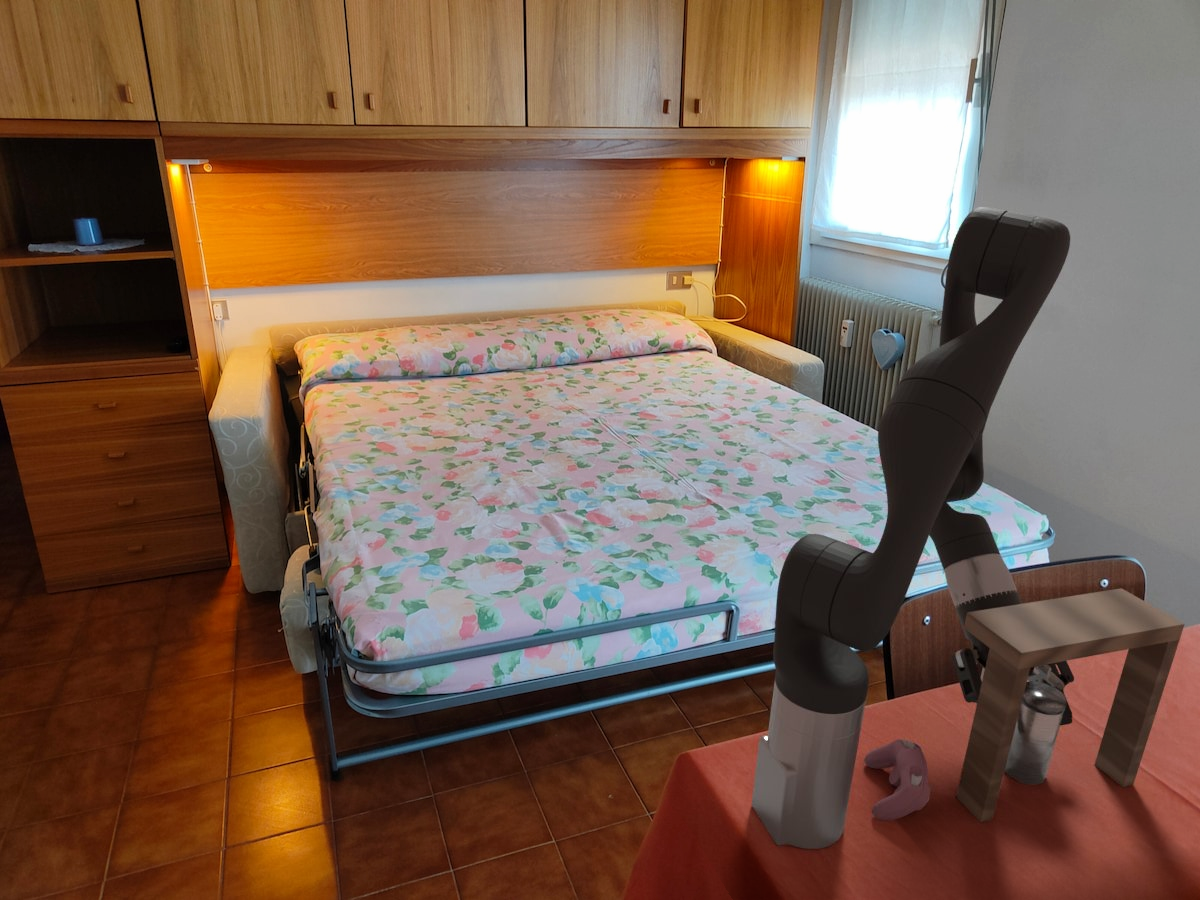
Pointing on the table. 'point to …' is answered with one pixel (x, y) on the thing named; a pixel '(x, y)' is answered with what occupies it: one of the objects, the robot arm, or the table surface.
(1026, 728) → the salt shaker
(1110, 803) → the table surface
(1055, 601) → the walnut shelf
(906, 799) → the video game controller
